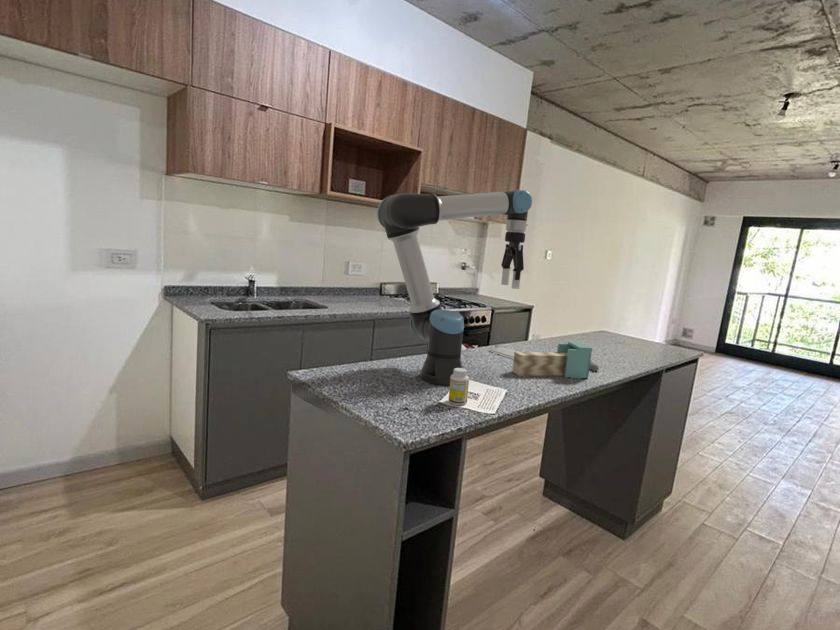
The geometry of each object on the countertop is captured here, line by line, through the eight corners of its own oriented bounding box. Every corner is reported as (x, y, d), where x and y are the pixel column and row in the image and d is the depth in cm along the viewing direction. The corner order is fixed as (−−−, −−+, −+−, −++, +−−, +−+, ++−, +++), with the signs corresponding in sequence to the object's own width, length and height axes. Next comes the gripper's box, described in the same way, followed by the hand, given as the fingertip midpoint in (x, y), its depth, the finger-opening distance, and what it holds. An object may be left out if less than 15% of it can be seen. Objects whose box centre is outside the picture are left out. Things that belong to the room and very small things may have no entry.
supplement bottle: (457, 398, 140) (460, 366, 138) (470, 403, 135) (473, 370, 134) (444, 401, 136) (447, 368, 134) (457, 407, 132) (460, 373, 130)
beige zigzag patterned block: (518, 375, 170) (520, 355, 168) (512, 371, 175) (514, 351, 173) (574, 375, 176) (577, 355, 174) (567, 372, 180) (570, 352, 179)
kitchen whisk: (590, 373, 181) (593, 358, 180) (558, 352, 214) (560, 339, 213) (605, 374, 182) (607, 358, 181) (571, 353, 215) (572, 340, 214)
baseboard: (542, 371, 180) (560, 368, 187) (543, 364, 179) (561, 361, 187) (485, 353, 203) (503, 350, 211) (486, 346, 203) (504, 344, 210)
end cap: (565, 377, 171) (569, 346, 169) (554, 370, 181) (558, 340, 179) (587, 378, 172) (592, 348, 170) (576, 371, 182) (580, 342, 180)
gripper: (536, 232, 163) (530, 290, 166) (514, 232, 187) (509, 284, 191) (516, 230, 162) (510, 289, 165) (497, 231, 186) (492, 282, 190)
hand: (509, 286), depth 178 cm, fingers open, 13 cm apart
